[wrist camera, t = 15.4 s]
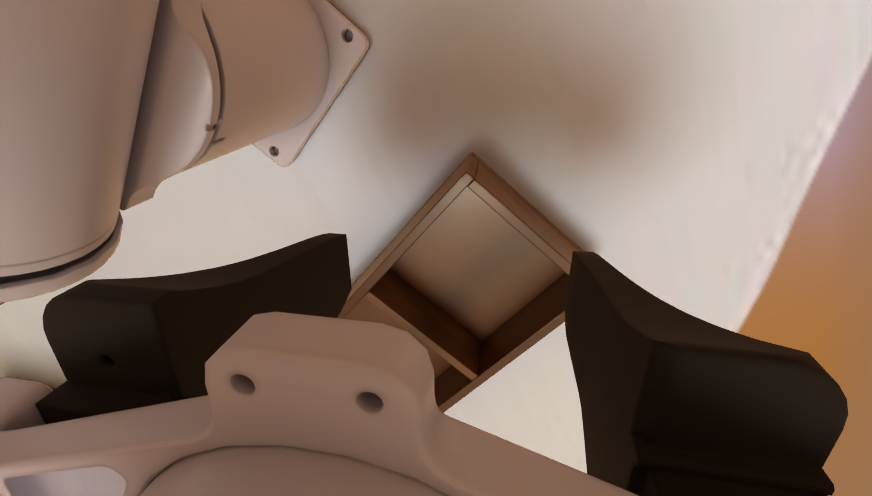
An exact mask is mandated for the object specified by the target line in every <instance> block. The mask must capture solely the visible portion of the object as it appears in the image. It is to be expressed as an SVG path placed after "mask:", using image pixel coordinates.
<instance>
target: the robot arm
mask: <svg viewBox="0 0 872 496" xmlns="http://www.w3.org/2000/svg"><path fill="white" fill-rule="evenodd" d="M347 30H350V31H351V32H352V34H353V38H352V41H350V42H348V41H347V40H346V39H345V32H346V31H347ZM368 48H369V42H368V39H367V37H366V36H365V34H363V33H362V32H361V31H360V30H359V29H358V28H357V27H356V26H355V25H354V24H352V23H351V22H350V21H349V20H348V19H347V18H346V17H345V16H344V15H343V14H341V13H340V12H339V11H338V10H337V9H336V8H335V7H334V6H333V5H332V4H330V3H329V2H328V1H327V0H0V303H2V302H8V301H14V300H19V299H25V298H30V297H34V296H38V295H41V294H45V293H49V292H52V291H55V290H58V289H61V288H63V287H66V286H68V285H71V284H73V283H76V282H78V281H79V280H81V279H83V278H85V277H87V276H88V275H90V274H92V273H93V272H95V271H96V270H97V269H98V268H100V267H101V266H102V265H104V264H105V263H106V261H107V260H108V259H109V258H110V257H111V256H112V254H113V253H114V252H115V250H116V248H117V245H118V243H119V241H120V236H121V230H122V224H123V219H122V217H121V214H120V211H119V209H121V210H126V209H128V208H130V207H133V206H135V205H137V204H139V203H142V202H144V201H146V200H148V199H151V198H152V197H153V195H154V193H155V190H156V188H157V187H158V185H159V184H160V183H161V182H162V181H163V180H165V179H167V178H169V177H171V176H173V175H176V174H178V173H181V172H183V171H186V170H188V169H191V168H193V167H195V166H198V165H200V164H203V163H205V162H208V161H210V160H213V159H215V158H218V157H220V156H223V155H225V154H228V153H230V152H233V151H235V150H238V149H240V148H243V147H245V146H248V145H250V144H253V145H254V146H255V147H257V148H258V149H259V150H260V151H262V152H263V153H264V154H265V155H267V156H268V157H269V158H270V159H272V160H273V161H274V162H275V163H277V164H278V165H280V166H282V167H286V166H289V165H290V164H292V163H293V161H294V160H295V158H296V157H297V155H298V154H299V152H300V151H301V149H302V148H303V146H304V145H305V143H306V142H307V140H308V139H309V137H310V136H311V134H312V133H313V131H314V130H315V128H316V127H317V125H318V124H319V122H320V121H321V119H322V118H323V116H324V115H325V113H326V112H327V110H328V109H329V107H330V106H331V104H332V103H333V101H334V100H335V98H336V97H337V95H338V94H339V93H340V91H341V90H342V88H343V87H344V85H345V84H346V82H347V81H348V79H349V78H350V76H351V75H352V73H353V72H354V70H355V69H356V67H357V66H358V64H359V63H360V61H361V60H362V58H363V57H364V55H365V54H366V52H367V50H368ZM273 146H274V147H276V148H277V149H278V151H279V154H276V153H275V152H274V151H273ZM351 289H352V287H351V277H350V267H349V257H348V248H347V238H346V234H332V233H328V234H322V235H319V236H315V237H312V238H309V239H306V240H304V241H301V242H298V243H295V244H293V245H290V246H287V247H284V248H282V249H279V250H276V251H273V252H270V253H267V254H264V255H261V256H258V257H255V258H252V259H248V260H245V261H241V262H238V263H234V264H230V265H226V266H221V267H217V268H212V269H206V270H200V271H195V272H189V273H183V274H175V275H167V276H157V277H146V278H129V279H101V280H87V281H84V282H83V283H81V284H79V285H77V286H75V287H73V288H71V289H69V290H67V291H65V292H64V293H62V294H60V295H58V296H56V297H54V298H52V300H51V301H50V302H49V303H48V304H47V305H46V307H45V310H44V314H43V326H44V331H45V334H46V337H47V339H48V342H49V344H50V346H51V348H52V350H53V352H54V354H55V356H56V358H57V360H58V362H59V365H60V367H61V369H62V371H63V373H64V375H65V377H66V379H67V381H66V382H65V383H63V384H62V385H61V386H59V387H58V388H56V389H55V390H53V389H52V388H50V387H49V386H48V385H46V384H43V383H41V382H35V381H28V380H22V379H15V378H9V377H2V378H1V379H0V496H828V495H832V494H833V492H834V484H833V483H832V481H831V480H830V479H829V477H828V476H827V474H826V473H825V472H824V470H823V469H822V467H823V465H824V463H825V462H826V460H827V458H828V456H829V454H830V452H831V451H832V449H833V447H834V445H835V443H836V442H837V440H838V438H839V436H840V434H841V432H842V431H843V428H844V425H845V422H846V419H847V416H848V407H847V399H846V397H845V395H844V393H843V392H842V390H841V388H840V386H839V385H838V384H837V382H836V381H835V380H834V379H833V378H832V377H831V376H830V375H829V374H828V373H827V372H826V371H825V370H824V369H823V367H822V366H821V365H820V364H819V363H818V362H817V361H816V360H815V359H814V358H813V357H812V356H811V355H810V354H809V353H807V352H803V351H800V350H795V349H792V348H788V347H783V346H780V345H776V344H772V343H768V342H764V341H760V340H757V339H754V338H751V337H747V336H744V335H741V334H738V333H735V332H732V331H729V330H726V329H724V328H721V327H718V326H716V325H713V324H711V323H708V322H706V321H703V320H701V319H699V318H696V317H694V316H692V315H689V314H687V313H685V312H683V311H681V310H679V309H677V308H675V307H673V306H671V305H670V304H668V303H666V302H664V301H662V300H660V299H659V298H657V297H655V296H654V295H652V294H650V293H649V292H647V291H646V290H644V289H643V288H641V287H640V286H638V285H637V284H635V283H634V282H633V281H631V280H630V279H628V278H627V277H626V276H624V275H623V274H622V273H621V272H619V271H618V270H617V269H615V268H614V267H613V266H612V265H610V264H609V263H608V262H607V261H605V260H604V259H603V258H602V257H600V256H599V255H598V254H596V253H594V252H581V251H573V253H572V260H571V267H570V274H569V281H568V288H567V295H566V302H565V309H564V310H565V326H566V337H567V342H568V346H569V351H570V356H571V360H572V365H573V369H574V374H575V378H576V383H577V387H578V392H579V397H580V403H581V409H582V419H583V430H584V440H585V452H586V464H587V474H586V473H583V472H581V471H579V470H576V469H574V468H571V467H569V466H567V465H564V464H562V463H559V462H557V461H555V460H552V459H550V458H547V457H545V456H543V455H540V454H538V453H535V452H533V451H531V450H528V449H526V448H524V447H521V446H519V445H516V444H514V443H512V442H509V441H507V440H504V439H502V438H500V437H497V436H495V435H492V434H490V433H488V432H485V431H483V430H480V429H478V428H476V427H473V426H471V425H468V424H466V423H464V422H461V421H459V420H456V419H454V418H452V417H449V416H447V415H445V414H444V413H443V412H442V411H441V410H440V409H439V408H438V406H437V404H436V400H435V394H434V369H433V366H432V363H431V360H430V357H429V354H428V351H427V349H426V348H425V347H424V346H423V345H422V344H420V343H419V342H418V341H417V340H416V339H415V338H414V337H413V336H412V335H411V334H410V333H409V332H407V331H404V330H401V329H398V328H395V327H392V326H389V325H386V324H383V323H376V322H367V321H358V320H349V319H339V318H337V317H338V316H339V314H340V313H341V311H342V309H343V307H344V305H345V303H346V301H347V298H348V296H349V294H350V291H351Z"/></svg>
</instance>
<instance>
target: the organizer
mask: <svg viewBox="0 0 872 496" xmlns="http://www.w3.org/2000/svg"><path fill="white" fill-rule="evenodd" d="M573 251H581V252H583V251H582V250H581V249H580V248H579V247H578V246H576V245H575V244H574V243H573V242H572V241H571V240H570V239H569V238H568V237H566V236H565V235H564V234H563V233H562V232H561V231H560V230H559V229H557V228H556V227H555V226H554V225H553V224H552V223H551V222H550V221H549V220H547V219H546V218H545V217H544V216H543V215H542V214H541V213H540V212H539V211H537V210H536V209H535V208H534V207H533V206H532V205H531V204H530V203H529V202H527V201H526V200H525V199H524V198H523V197H522V196H521V195H520V194H518V193H517V192H516V191H515V190H514V189H513V188H512V187H511V186H510V185H508V184H507V183H506V182H505V181H504V180H503V179H502V178H501V177H500V176H498V175H497V174H496V173H495V172H494V171H493V170H492V169H491V168H490V167H488V166H487V165H486V164H485V163H484V162H483V161H482V160H481V159H479V158H478V157H477V156H476V155H475V154H474V153H471V154H470V155H469V156H468V157H467V158H466V159H465V161H464V162H463V163H462V164H461V165H460V166H459V167H458V168H457V169H456V171H455V172H454V173H453V174H452V175H451V176H450V177H449V178H448V179H447V181H446V182H445V183H444V184H443V185H442V186H441V187H440V188H439V189H438V191H437V192H436V193H435V194H434V195H433V196H432V197H431V198H430V199H429V200H428V202H427V203H426V204H425V205H424V206H423V207H422V208H421V209H420V210H419V212H418V213H417V214H416V215H415V216H414V217H413V218H412V219H411V220H410V222H409V223H408V224H407V225H406V226H405V227H404V228H403V229H402V230H401V232H400V233H399V234H398V235H397V236H396V237H395V238H394V239H393V240H392V242H391V243H390V244H389V245H388V246H387V247H386V248H385V249H384V250H383V251H382V253H381V254H380V255H379V256H378V257H377V258H376V259H375V260H374V261H373V263H372V264H371V265H370V266H369V267H368V268H367V269H366V270H365V271H364V273H363V274H362V275H361V276H360V277H359V278H358V279H357V280H356V281H355V283H354V284H353V285H352V286H351V287H352V289H351V291H350V294H349V296H348V298H347V301H346V303H345V305H344V307H343V309H342V311H341V313H340V314H339V316H338V317H337V318H339V319H349V320H358V321H367V322H376V323H383V324H386V325H389V326H392V327H395V328H398V329H401V330H404V331H407V332H409V333H410V334H411V335H412V336H413V337H414V338H415V339H416V340H417V341H418V342H419V343H420V344H422V345H423V346H424V347H425V348H426V349H427V351H428V354H429V357H430V360H431V363H432V366H433V369H434V394H435V400H436V404H437V406H438V408H439V409H440V410H441V411H442V412H445V411H446V410H447V409H449V408H450V407H451V406H453V405H454V404H455V403H457V402H458V401H459V400H461V399H462V398H463V397H465V396H466V395H467V394H469V393H470V392H471V391H473V390H474V389H475V388H477V387H478V386H479V385H481V384H482V383H483V382H485V381H486V380H487V379H489V378H490V377H491V376H493V375H494V374H495V373H497V372H498V371H499V370H501V369H502V368H503V367H505V366H506V365H507V364H509V363H510V362H511V361H513V360H514V359H515V358H517V357H518V356H519V355H521V354H522V353H523V352H525V351H526V350H527V349H529V348H530V347H531V346H533V345H534V344H535V343H537V342H538V341H539V340H541V339H542V338H543V337H545V336H546V335H547V334H549V333H550V332H551V331H553V330H554V329H555V328H557V327H558V326H559V325H561V324H562V323H563V322H565V310H564V309H565V302H566V295H567V288H568V281H569V274H570V267H571V260H572V253H573Z"/></svg>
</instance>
